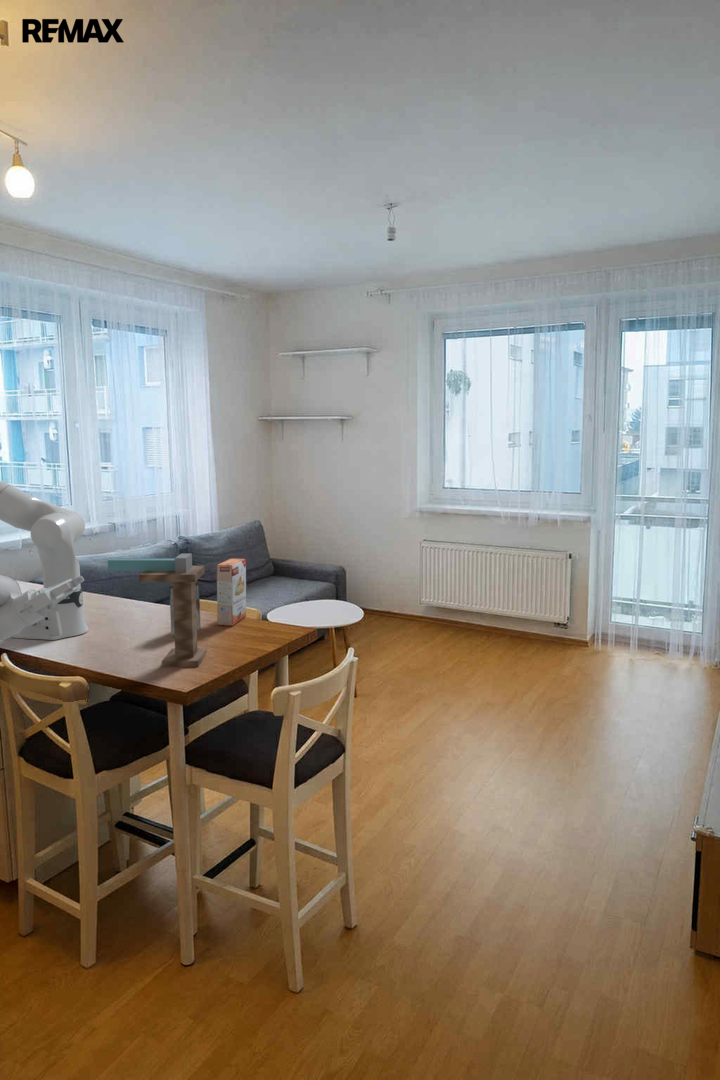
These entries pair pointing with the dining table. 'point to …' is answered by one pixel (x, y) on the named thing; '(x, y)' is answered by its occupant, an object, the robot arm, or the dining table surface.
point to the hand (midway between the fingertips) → (76, 581)
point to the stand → (181, 615)
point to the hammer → (152, 564)
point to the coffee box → (196, 608)
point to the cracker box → (231, 591)
